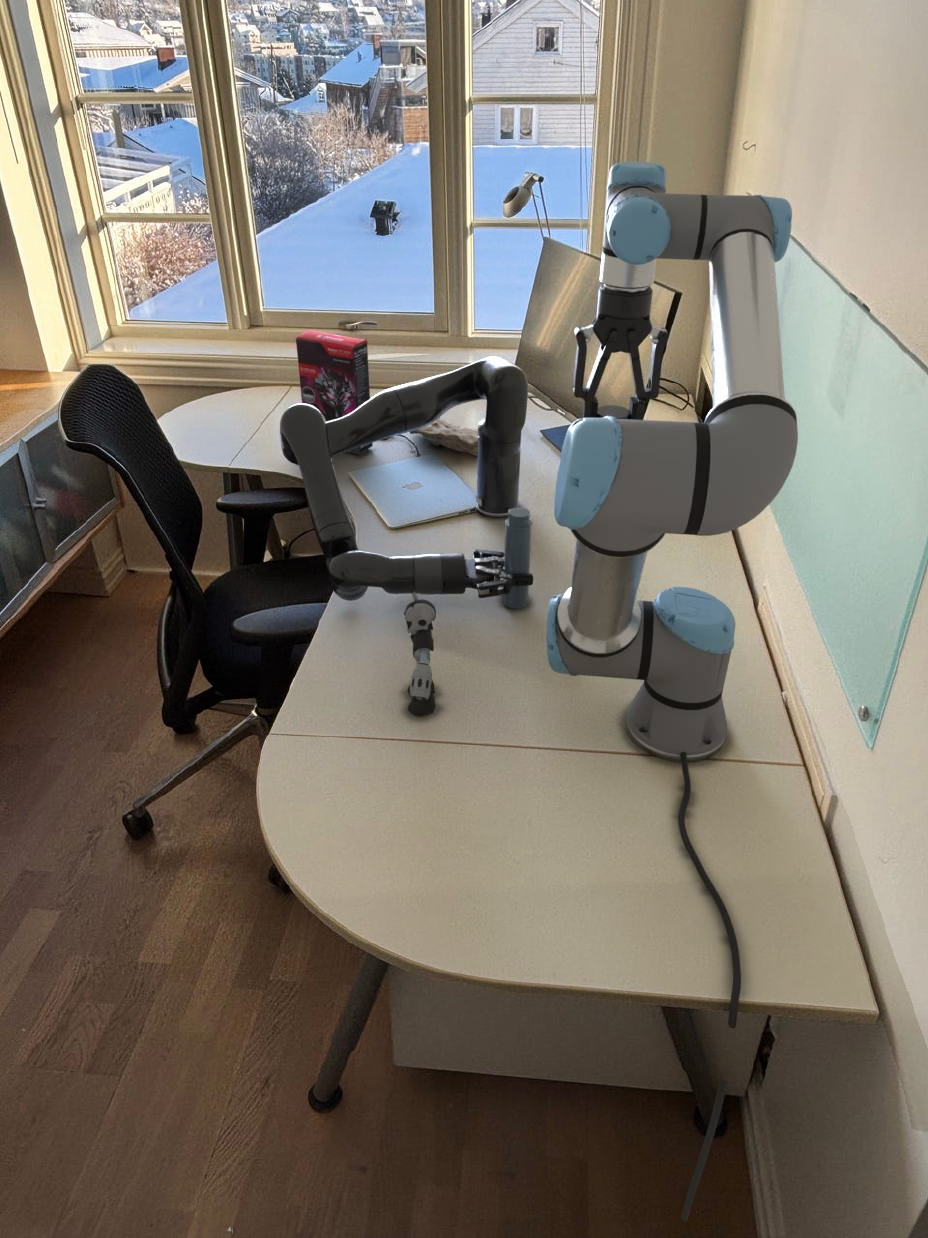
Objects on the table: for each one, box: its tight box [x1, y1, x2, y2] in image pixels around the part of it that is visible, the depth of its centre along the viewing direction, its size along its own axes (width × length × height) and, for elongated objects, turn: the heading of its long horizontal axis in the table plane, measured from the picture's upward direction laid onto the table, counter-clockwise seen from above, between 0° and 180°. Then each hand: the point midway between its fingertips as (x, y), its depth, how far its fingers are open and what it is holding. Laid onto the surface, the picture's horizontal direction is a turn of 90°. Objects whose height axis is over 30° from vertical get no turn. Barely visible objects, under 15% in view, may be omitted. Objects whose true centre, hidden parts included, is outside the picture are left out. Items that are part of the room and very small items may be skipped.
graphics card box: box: [295, 329, 374, 455], centre depth 226 cm, size 17×7×27 cm, turn 62°
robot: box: [403, 589, 437, 717], centre depth 143 cm, size 20×5×20 cm, turn 3°
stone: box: [409, 416, 478, 457], centre depth 232 cm, size 21×15×6 cm
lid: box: [597, 404, 630, 419], centre depth 140 cm, size 5×5×2 cm
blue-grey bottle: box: [502, 506, 533, 610], centre depth 168 cm, size 5×5×19 cm
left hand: (530, 571), depth 170 cm, fingers closed on blue-grey bottle, 4 cm apart
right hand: (610, 440), depth 142 cm, fingers closed on lid, 5 cm apart
